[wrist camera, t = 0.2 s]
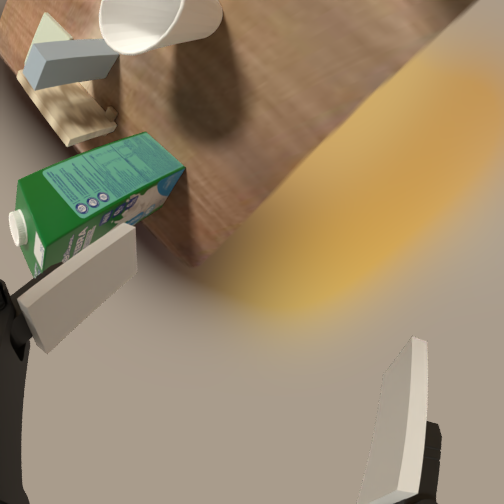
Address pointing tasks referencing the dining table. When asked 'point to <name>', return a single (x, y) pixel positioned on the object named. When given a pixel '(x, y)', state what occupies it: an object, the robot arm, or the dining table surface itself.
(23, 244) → the milk carton
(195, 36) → the cup
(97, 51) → the block
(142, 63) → the dining table surface
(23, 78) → the birch screen
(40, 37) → the mat
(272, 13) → the dining table surface
